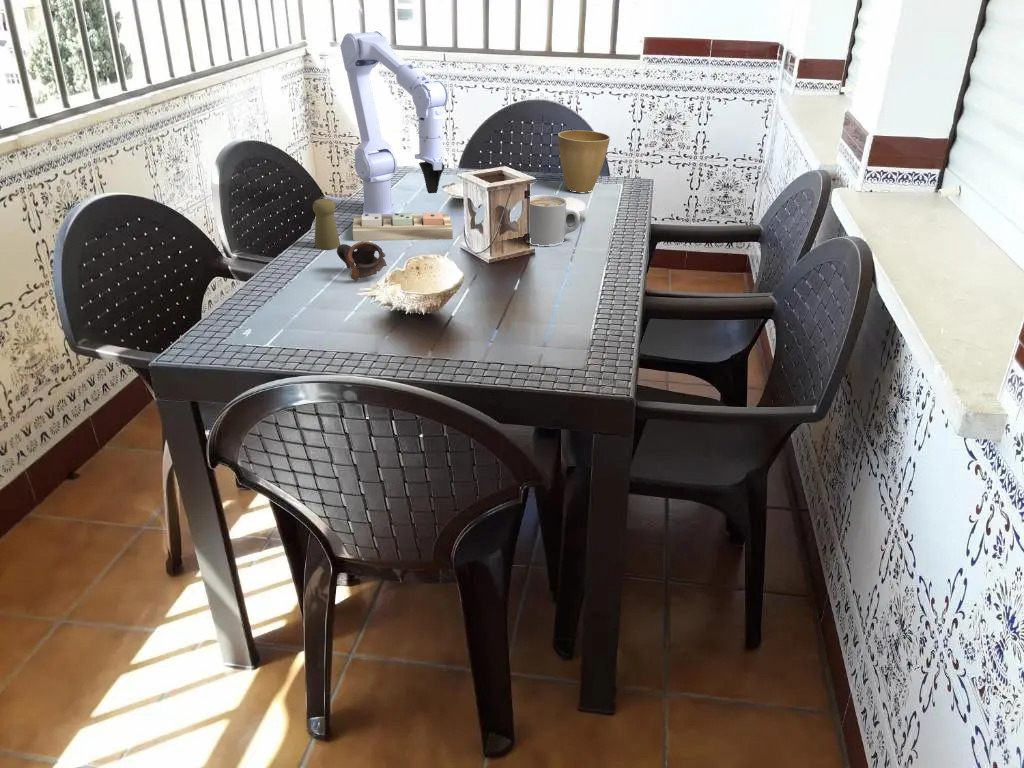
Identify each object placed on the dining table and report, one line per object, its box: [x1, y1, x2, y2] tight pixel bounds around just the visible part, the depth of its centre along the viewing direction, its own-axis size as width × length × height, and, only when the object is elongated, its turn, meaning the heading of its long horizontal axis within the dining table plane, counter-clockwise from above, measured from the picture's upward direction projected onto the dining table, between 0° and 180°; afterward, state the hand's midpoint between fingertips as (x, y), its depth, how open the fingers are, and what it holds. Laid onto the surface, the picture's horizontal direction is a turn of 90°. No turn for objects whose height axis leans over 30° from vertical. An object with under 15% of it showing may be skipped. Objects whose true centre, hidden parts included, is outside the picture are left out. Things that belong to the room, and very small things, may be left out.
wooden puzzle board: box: [352, 213, 454, 242], centre depth 204 cm, size 12×24×2 cm, turn 98°
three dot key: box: [392, 212, 413, 226], centre depth 204 cm, size 5×5×3 cm
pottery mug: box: [336, 241, 388, 282], centre depth 178 cm, size 12×10×8 cm
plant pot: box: [557, 129, 611, 192], centre depth 239 cm, size 15×15×16 cm
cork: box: [312, 198, 341, 251], centre depth 192 cm, size 6×6×11 cm
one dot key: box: [422, 212, 443, 225], centre depth 205 cm, size 5×5×3 cm
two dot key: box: [361, 213, 382, 226], centre depth 203 cm, size 5×5×3 cm
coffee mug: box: [529, 194, 581, 245], centre depth 200 cm, size 13×10×10 cm
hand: (432, 192), depth 201 cm, fingers closed
